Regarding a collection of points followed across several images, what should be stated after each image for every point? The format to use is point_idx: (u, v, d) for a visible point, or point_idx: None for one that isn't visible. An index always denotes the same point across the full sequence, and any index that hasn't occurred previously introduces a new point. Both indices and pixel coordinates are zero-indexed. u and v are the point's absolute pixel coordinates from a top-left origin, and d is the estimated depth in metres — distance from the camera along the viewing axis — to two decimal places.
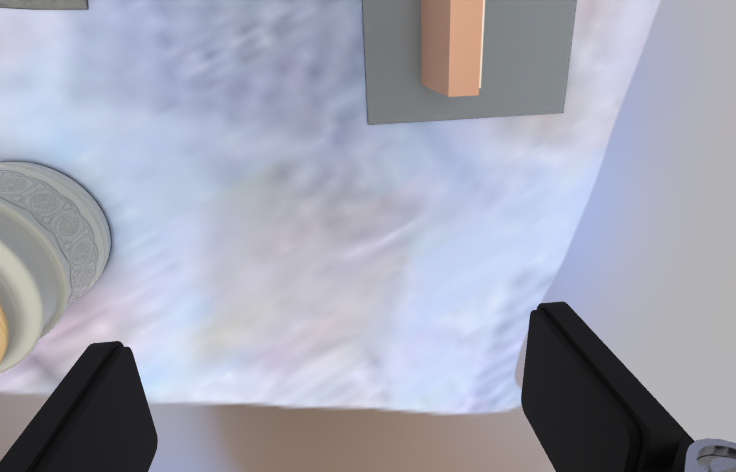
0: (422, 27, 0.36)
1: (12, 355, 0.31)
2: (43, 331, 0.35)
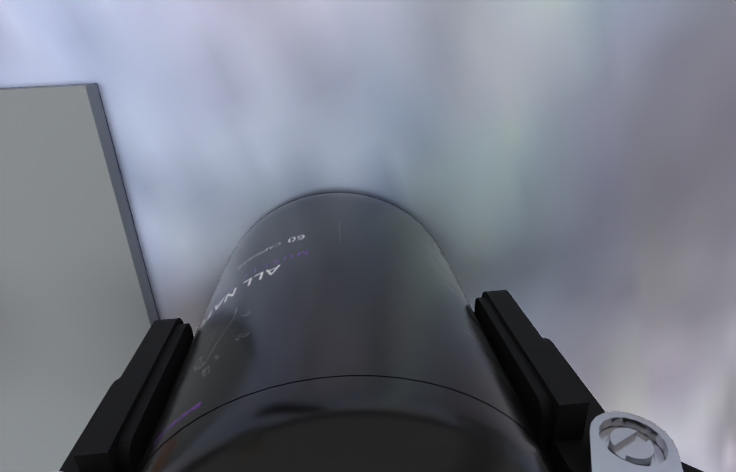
0: None
1: None
2: None
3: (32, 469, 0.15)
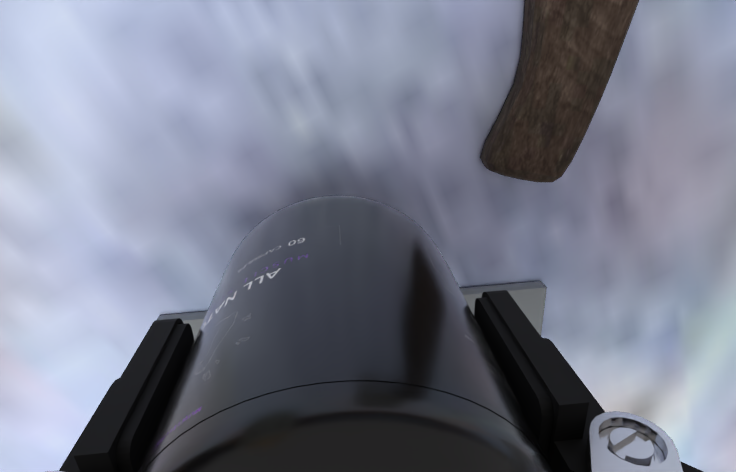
0: None
1: None
2: None
3: None
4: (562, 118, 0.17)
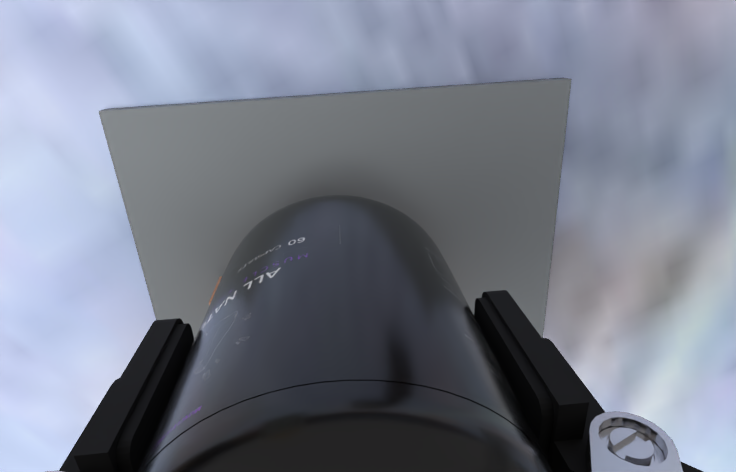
0: None
1: None
2: None
3: None
4: None
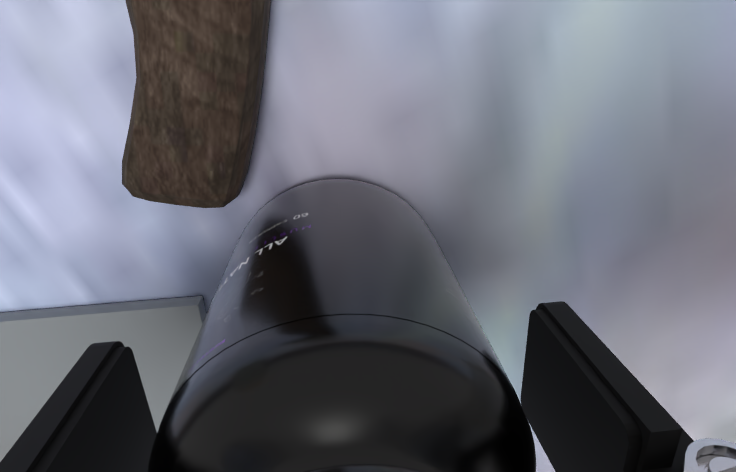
0: None
1: None
2: None
3: None
4: (194, 120, 0.12)
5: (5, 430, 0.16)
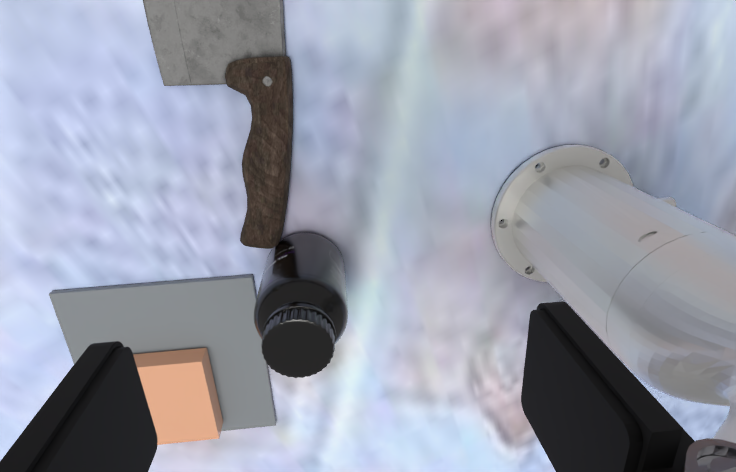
0: (147, 371, 0.40)
1: None
2: None
3: (217, 390, 0.45)
4: (266, 222, 0.37)
5: (175, 327, 0.42)
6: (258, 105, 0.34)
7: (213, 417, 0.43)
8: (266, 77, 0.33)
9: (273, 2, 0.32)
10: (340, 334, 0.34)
